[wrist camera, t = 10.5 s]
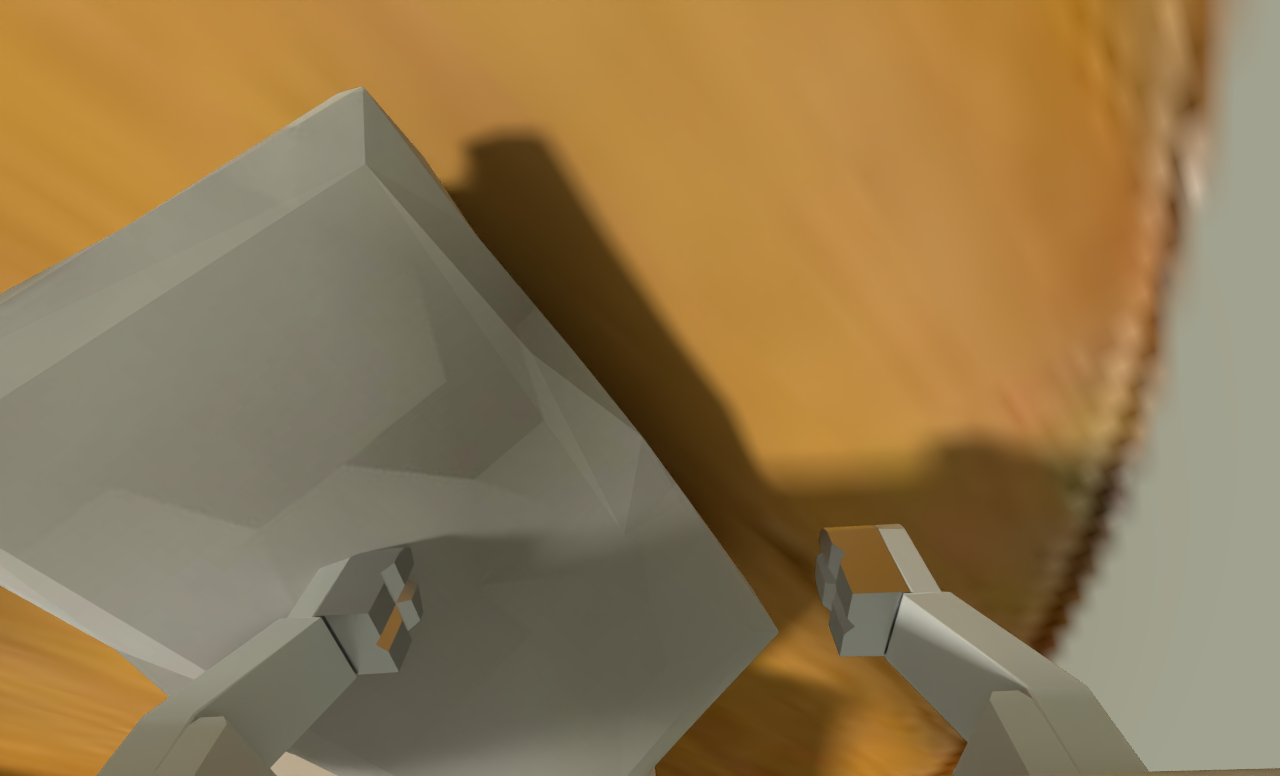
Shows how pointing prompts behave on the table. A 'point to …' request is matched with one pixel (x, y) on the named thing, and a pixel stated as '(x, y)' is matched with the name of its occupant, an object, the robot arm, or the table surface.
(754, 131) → the table surface
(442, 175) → the table surface
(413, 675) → the packaged product
